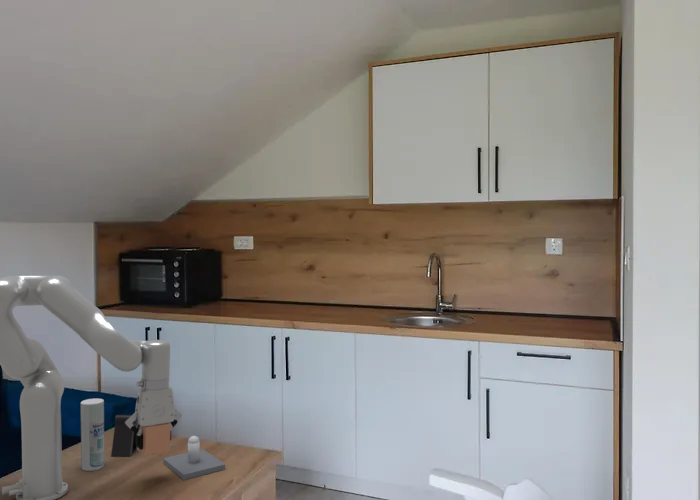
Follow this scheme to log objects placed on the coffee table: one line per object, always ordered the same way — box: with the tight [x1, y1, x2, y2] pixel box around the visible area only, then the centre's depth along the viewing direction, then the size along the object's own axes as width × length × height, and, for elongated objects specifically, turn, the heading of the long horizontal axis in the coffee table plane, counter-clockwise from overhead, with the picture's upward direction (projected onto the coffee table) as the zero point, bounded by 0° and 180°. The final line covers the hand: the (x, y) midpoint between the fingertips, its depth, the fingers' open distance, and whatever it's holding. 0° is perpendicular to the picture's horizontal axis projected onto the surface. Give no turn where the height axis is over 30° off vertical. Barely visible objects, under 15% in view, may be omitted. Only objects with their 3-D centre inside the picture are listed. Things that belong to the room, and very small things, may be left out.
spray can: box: [80, 398, 105, 472], centre depth 181 cm, size 6×6×20 cm
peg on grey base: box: [162, 435, 226, 481], centre depth 182 cm, size 13×16×9 cm
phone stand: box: [110, 414, 138, 458], centre depth 194 cm, size 9×6×12 cm, turn 178°
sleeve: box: [137, 423, 171, 457], centre depth 171 cm, size 7×7×8 cm
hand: (153, 445), depth 171 cm, fingers closed on sleeve, 7 cm apart
